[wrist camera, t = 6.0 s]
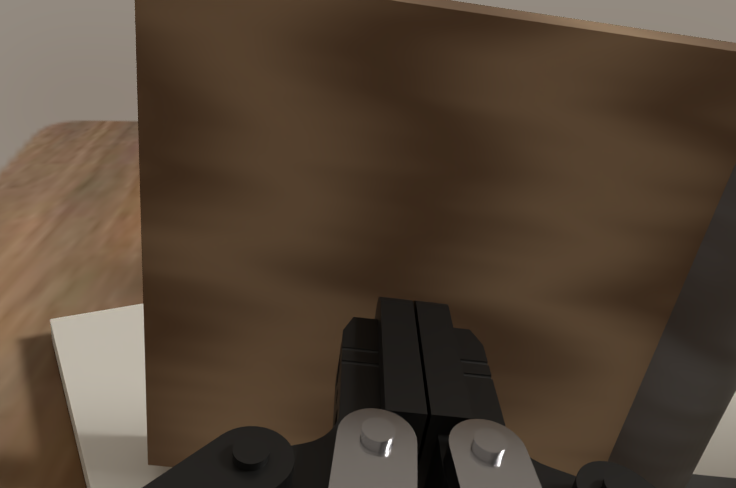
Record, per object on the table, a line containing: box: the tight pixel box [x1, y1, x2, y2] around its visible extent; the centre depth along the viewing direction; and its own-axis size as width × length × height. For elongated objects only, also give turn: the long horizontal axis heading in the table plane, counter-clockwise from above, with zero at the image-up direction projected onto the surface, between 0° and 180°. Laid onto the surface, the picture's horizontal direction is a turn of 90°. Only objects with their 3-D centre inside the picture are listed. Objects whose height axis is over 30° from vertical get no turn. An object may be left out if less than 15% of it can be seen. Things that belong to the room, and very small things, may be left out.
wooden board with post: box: [135, 0, 736, 488], centre depth 16 cm, size 26×3×13 cm, turn 90°
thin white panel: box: [50, 304, 736, 488], centre depth 21 cm, size 28×28×1 cm
